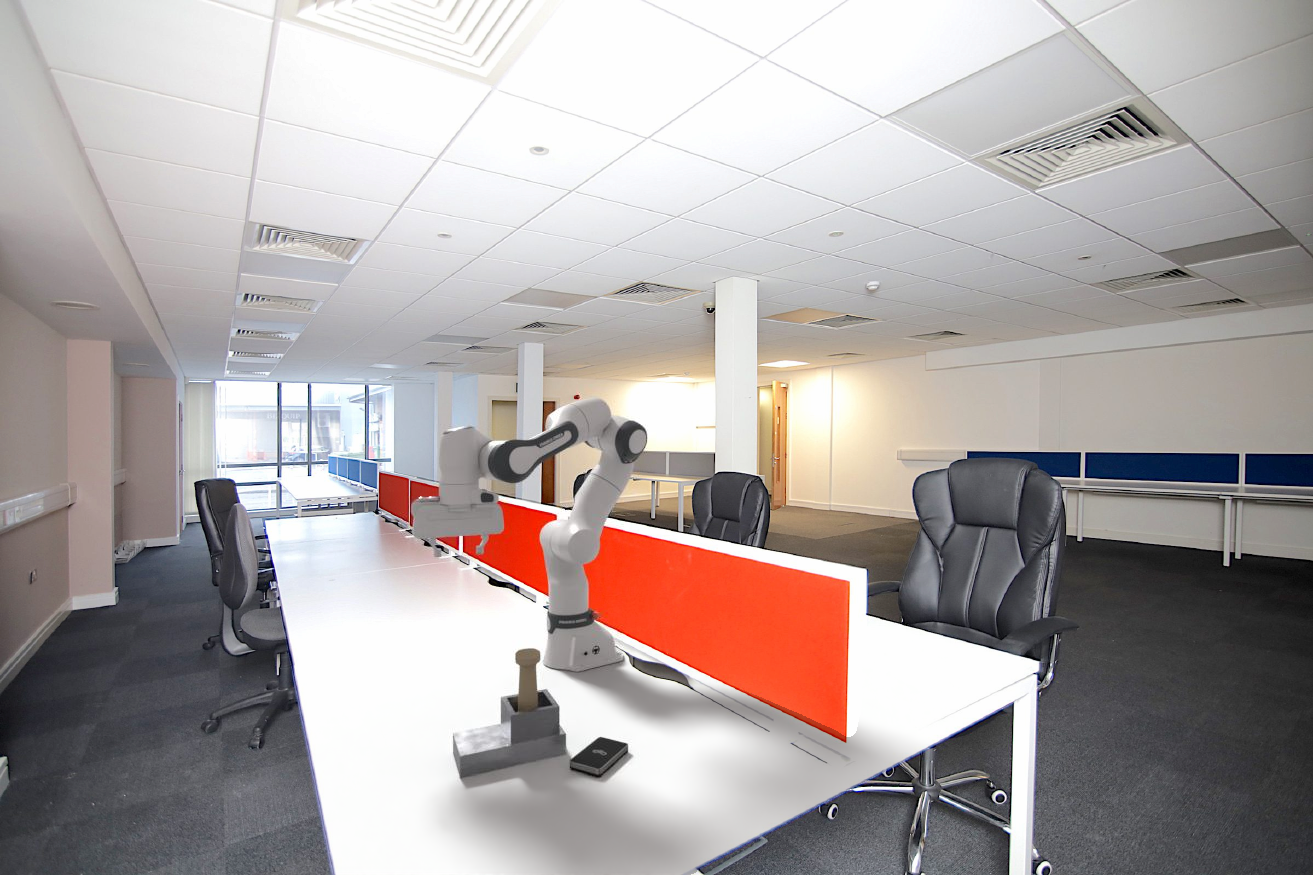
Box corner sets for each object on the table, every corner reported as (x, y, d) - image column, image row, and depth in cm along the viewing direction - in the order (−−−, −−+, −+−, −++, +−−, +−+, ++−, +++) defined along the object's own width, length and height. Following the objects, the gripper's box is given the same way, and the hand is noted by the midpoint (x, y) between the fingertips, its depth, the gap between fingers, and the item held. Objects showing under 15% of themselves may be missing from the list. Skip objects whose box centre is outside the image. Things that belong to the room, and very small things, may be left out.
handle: (516, 737, 119) (516, 660, 119) (514, 723, 125) (514, 649, 125) (541, 734, 120) (541, 657, 120) (538, 720, 126) (538, 647, 127)
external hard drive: (629, 753, 121) (629, 743, 121) (599, 781, 112) (599, 770, 112) (599, 746, 125) (599, 736, 125) (567, 772, 115) (567, 761, 115)
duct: (552, 732, 130) (552, 687, 130) (566, 754, 121) (566, 705, 121) (453, 753, 121) (453, 704, 121) (460, 778, 112) (460, 725, 112)
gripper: (412, 498, 136) (411, 561, 136) (505, 495, 145) (505, 553, 144) (410, 496, 142) (410, 556, 141) (500, 493, 150) (500, 549, 150)
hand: (459, 555), depth 143 cm, fingers open, 8 cm apart
